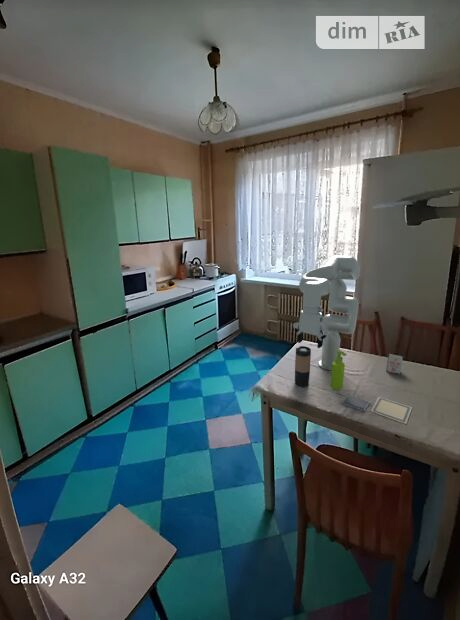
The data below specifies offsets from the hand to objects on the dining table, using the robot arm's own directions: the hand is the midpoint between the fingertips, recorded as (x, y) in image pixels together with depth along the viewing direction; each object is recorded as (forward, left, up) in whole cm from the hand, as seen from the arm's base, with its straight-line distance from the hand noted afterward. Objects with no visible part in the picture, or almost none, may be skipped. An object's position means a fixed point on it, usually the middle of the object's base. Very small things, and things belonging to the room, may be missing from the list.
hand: (309, 344), depth 134 cm
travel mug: (-10, -7, -28) cm, 31 cm away
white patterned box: (-52, +28, -28) cm, 65 cm away
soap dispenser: (-18, +9, -28) cm, 34 cm away
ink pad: (-9, +21, -28) cm, 36 cm away
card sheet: (-14, +35, -28) cm, 46 cm away
